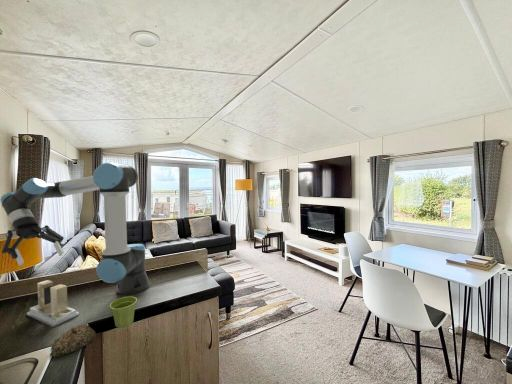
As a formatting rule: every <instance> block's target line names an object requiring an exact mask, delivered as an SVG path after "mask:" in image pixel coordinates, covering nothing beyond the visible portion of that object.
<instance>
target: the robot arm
mask: <svg viewBox="0 0 512 384" xmlns="http://www.w3.org/2000/svg"><path fill="white" fill-rule="evenodd" d="M138 179H139V175H138V171H137V170H136V169H135V168H134V167H133V166H131V165H129V164H123V163H117V162H103V163H101V164H99V165H98V166H96V168H95V170H94V172H93V174H92V175H91V176H85V177H79V178H73V179H68V180H64V181H58V182H57V181H56V182H46V181H44V180H43V179H41V178H37V177H32V178H29V179H28V180H26V182H24V183H23V184H22V185H21V186H20V187H19V188H18V189H17V190H16V191H10V192H7V193H5V194H2V196H0V203H1V206H2V208H3V209H4V212H5V213H6V215H7V218H8V219H9V221H10V223H11V225H12V227H13V230H14V231H12V230H10V229H9V230H7V232H6V234H5V237H6V240H5V242H4V245H3V248H2V250H1V253H2V254H6V253H7V254H8V255H9V256H11V259H13V260H15V259H16V262H17V265H18V266H19V267H22V266H23V264H24V263H25V261H24V258H23V257H22V255H21V252H20V251H19V248H18V247H19V245H20V244H21V243H22V241H23V240H29V239H36V238H37V239H41V240H45V241H47V242H50V243H53V247H54V249H55V250H56V252H57V254H58V256H59V257H61V256H63V254H64V252H65V251H64V249H63V243H62V242H63V241H64V239H65V237H64V236H62V235H61V234H60V233H58V232H56V231H54V230H53V229H51V228H50V226H49V225H45V226H41V227H40V225H39V223H38V222H37V220H36V218H35V216H34V214H33V213H32V211H31V208H30V205H32V204H33V203H34V202H36V200H38V199H39V200H40V199H50V198H52V199H53V198H65V197H67V196H71V195H76V194H77V195H78V194H83V193H88V192H93V191H99V194H101V196H103V210H104V211H103V215H104V217H103V218H104V241H105V243H104V244H105V246H104V247H105V249H104V250H103V251H101V260H100V261H99V263H97V266H96V275H97V277H99V279H100V280H102V281H103V282H105V283H109V284H114V283H117V285H116V293H118V294H121V295H132V294H138V293H140V292H142V291H145V290H146V289H147V288H149V287H150V279H149V277H148V275H147V272H146V248H145V245H144V244H141V243H132V244H131V243H130V244H128V233H127V232H128V230H127V202H126V201H127V199H126V198H127V197H126V196H127V195H128V194H129V193H130V188H131V187H133V186H135V185H136V184H137V182H138ZM14 236H18V238H17V239H16V241H15V242H14V243H13V244H12V246H11V247H10V244H11V242H12V241H11V240H12V238H13V237H14Z"/></svg>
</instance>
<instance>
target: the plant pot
mask: <svg viewBox="0 0 512 384" xmlns="http://www.w3.org/2000/svg"><path fill="white" fill-rule="evenodd" d="M137 302H138V297H135V296H123V297H120V298H117V299H115V300H113V301H112V302H111V303H110V304H109V309H110V310H111V312H112V315H113V321H114V324H115V325H114V326H115V327H116V328H118V329H124V328H126V327H128V326H130V325H132V324H133V323H134V319H135V318H134V317H135V310H136V309H135V308H136V304H137Z"/></svg>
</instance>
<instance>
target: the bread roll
mask: <svg viewBox="0 0 512 384" xmlns="http://www.w3.org/2000/svg"><path fill="white" fill-rule="evenodd" d="M96 338H97V333H96V331H95V330H94V329H93V328H92V327H91V326H89V325H86V324H82V325H81V324H80V325H76V326H75V327H74V326H73V327H71V328H70V329H69V330H67V331H66V332H64V333H62V334H61V335H60V336H59V337H58V338H55V339H54V341H53V343H52V344H51V351H50V354H49V356H50V357H53V358H57V357H61V356H63V355H64V354H65V355H67V354H70V353H73V352H75V351H78V350H80V349H83V348H85V347H86V346H88V345H91V344H93V343H94V342H96Z"/></svg>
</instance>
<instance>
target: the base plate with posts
mask: <svg viewBox="0 0 512 384" xmlns="http://www.w3.org/2000/svg"><path fill="white" fill-rule="evenodd" d="M50 290H51V311H48V312H44V311H41V310H39V309H38V304H37V305H34V306H32V307H30V308H29V311H27V312H26V315H27V316H28V317H31V319H32V318H33V319H34V320H37V321H39V322H41V323H44V324H45V325H48V326H50V327H52V328H54V327H56V326H58V325H61V324H63V323H64V322H67V321H69V320H70V319H73V318H75V317H77V316H79V315H80V311H77V309H74V308H72V307H69V306H68V286H67V285H65V284H62V283H60V284H57V285H53V287H50Z"/></svg>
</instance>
